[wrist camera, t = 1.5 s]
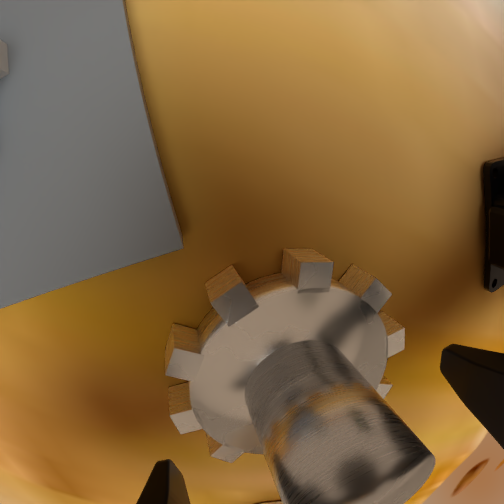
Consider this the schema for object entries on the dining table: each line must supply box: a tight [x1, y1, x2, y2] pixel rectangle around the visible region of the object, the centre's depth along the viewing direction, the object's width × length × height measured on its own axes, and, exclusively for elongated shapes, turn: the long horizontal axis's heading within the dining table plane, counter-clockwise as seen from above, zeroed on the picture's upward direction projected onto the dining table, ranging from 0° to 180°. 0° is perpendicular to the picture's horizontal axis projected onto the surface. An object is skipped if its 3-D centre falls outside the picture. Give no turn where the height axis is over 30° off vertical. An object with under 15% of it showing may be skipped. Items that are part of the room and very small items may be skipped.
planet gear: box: [165, 249, 435, 504], centre depth 8 cm, size 8×8×6 cm
